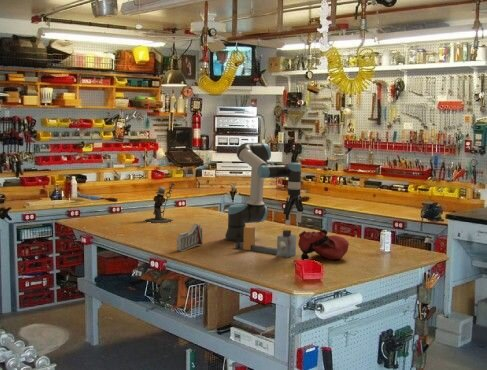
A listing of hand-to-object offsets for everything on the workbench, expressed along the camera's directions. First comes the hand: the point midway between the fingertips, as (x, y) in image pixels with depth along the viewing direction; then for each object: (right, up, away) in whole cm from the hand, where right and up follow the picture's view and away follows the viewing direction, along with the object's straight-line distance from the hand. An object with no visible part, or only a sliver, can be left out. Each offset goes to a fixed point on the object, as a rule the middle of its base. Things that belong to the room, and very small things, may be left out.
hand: (293, 223), depth 367 cm
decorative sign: (-63, -16, +11) cm, 66 cm away
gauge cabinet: (-5, -18, -4) cm, 19 cm away
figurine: (-96, -5, +110) cm, 146 cm away
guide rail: (-20, -17, +6) cm, 27 cm away
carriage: (-27, -17, +10) cm, 33 cm away
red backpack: (+16, -20, -11) cm, 27 cm away
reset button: (-4, -9, -5) cm, 11 cm away
